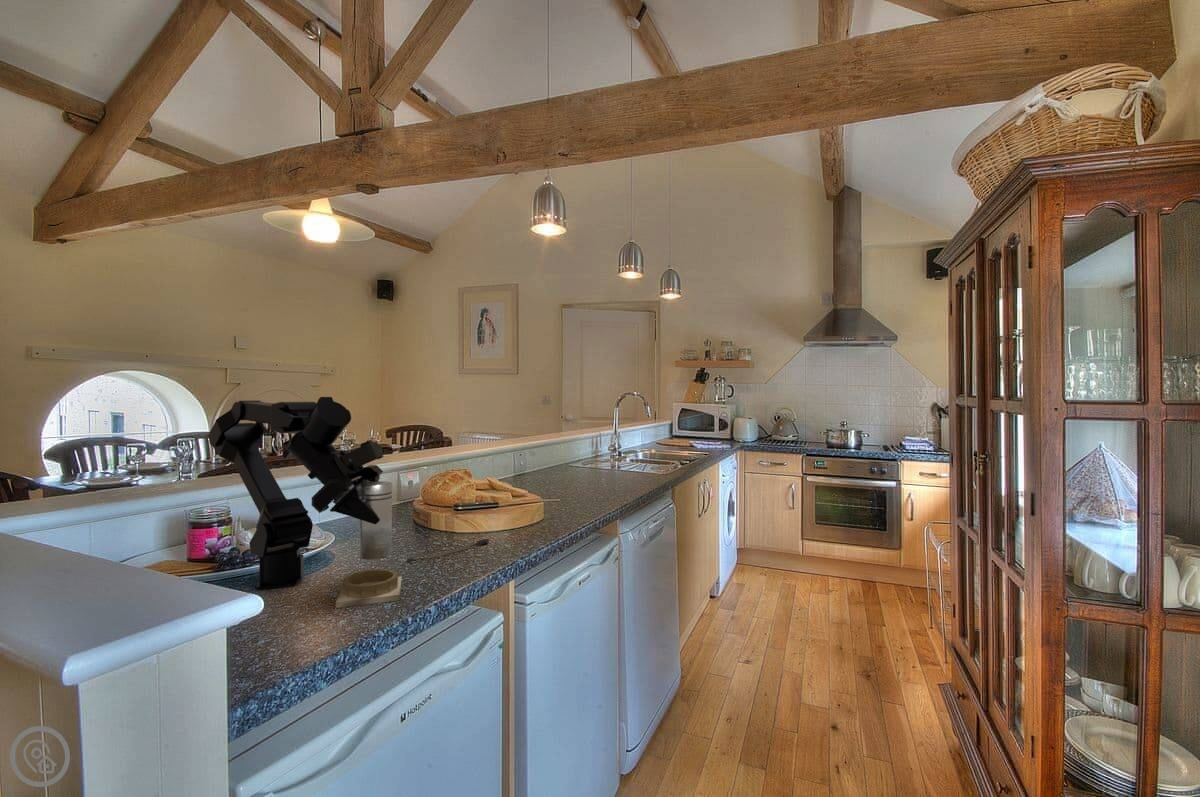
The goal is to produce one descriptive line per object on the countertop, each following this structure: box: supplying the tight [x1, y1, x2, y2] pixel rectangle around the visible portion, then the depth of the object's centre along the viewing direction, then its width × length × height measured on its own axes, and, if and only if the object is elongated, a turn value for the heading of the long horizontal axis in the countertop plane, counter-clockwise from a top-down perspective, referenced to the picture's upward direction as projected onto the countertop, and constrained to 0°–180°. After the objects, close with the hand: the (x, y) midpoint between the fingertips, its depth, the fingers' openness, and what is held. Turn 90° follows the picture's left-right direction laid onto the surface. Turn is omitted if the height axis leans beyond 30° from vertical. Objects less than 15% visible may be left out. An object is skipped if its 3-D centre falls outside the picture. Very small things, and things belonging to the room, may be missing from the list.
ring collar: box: [335, 568, 403, 609], centre depth 95 cm, size 10×10×3 cm
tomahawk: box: [406, 538, 490, 563], centre depth 119 cm, size 21×7×1 cm, turn 139°
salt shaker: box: [358, 480, 393, 560], centre depth 96 cm, size 5×5×13 cm
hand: (383, 518), depth 96 cm, fingers closed on salt shaker, 5 cm apart
